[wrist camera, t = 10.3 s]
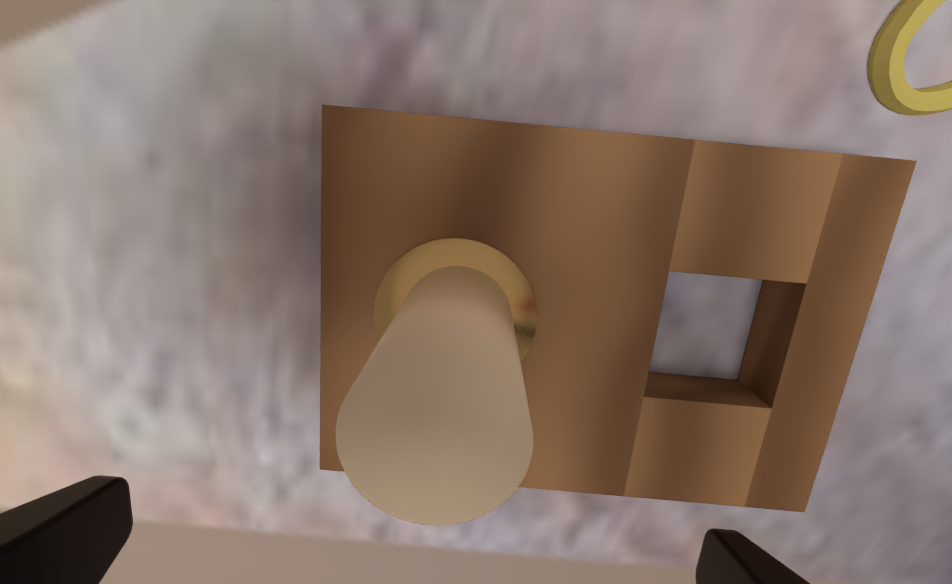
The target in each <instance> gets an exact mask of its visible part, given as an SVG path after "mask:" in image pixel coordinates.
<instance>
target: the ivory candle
mask: <svg viewBox="0 0 952 584" xmlns="http://www.w3.org/2000/svg"><path fill="white" fill-rule="evenodd" d="M336 446H337V452H338V456H339V459H340V462H341V465H342V467H343V469H344V471H345V473H346V475H347V477H348V478H349V480H350V481H351V483H352V484H353V485H354V487H355V488H356V489H357V490H358V491H359V493H360V494H361V495H363V496H364V497H365V498H366V499H367V500H368V501H369V502H370V503H372V504H373V505H375V506H376V507H377V508H379V509H381V510H382V511H384V512H386V513H388V514H390V515H392V516H394V517H397V518H399V519H402V520H405V521H409V522H412V523H418V524H423V525H452V524H458V523H463V522H467V521H470V520H473V519H476V518H478V517H481V516H483V515H485V514H487V513H489V512H491V511H492V510H494V509H496V508H497V507H498V506H500V505H501V504H502V503H504V502H505V501H506V500H507V499H508V498H509V497H510V496H511V495H512V494H513V493H514V491H515V490H516V489H517V488H518V487H519V485H520V483H521V482H522V480H523V478H524V477H525V475H526V472H527V470H528V467H529V465H530V461H531V457H532V451H533V430H532V425H531V419H530V413H529V408H528V402H527V396H526V391H525V385H524V380H523V374H522V368H521V363H520V357H519V351H518V346H517V340H516V335H515V329H514V323H513V318H512V312H511V307H510V303H509V300H508V298H507V296H506V294H505V292H504V291H503V289H502V288H501V286H500V285H499V284H498V283H497V282H496V281H495V280H494V279H493V278H491V277H490V276H489V275H487V274H486V273H484V272H482V271H480V270H477V269H474V268H471V267H466V266H447V267H442V268H439V269H436V270H434V271H432V272H430V273H428V274H426V275H425V276H423V277H422V278H421V279H420V280H419V281H418V282H417V283H416V284H415V285H414V286H413V288H412V289H411V291H410V292H409V294H408V295H407V297H406V299H405V300H404V302H403V304H402V305H401V307H400V308H399V310H398V312H397V313H396V315H395V317H394V318H393V320H392V321H391V323H390V325H389V326H388V328H387V330H386V331H385V333H384V335H383V336H382V338H381V339H380V341H379V343H378V344H377V346H376V348H375V349H374V351H373V352H372V354H371V356H370V357H369V359H368V361H367V362H366V364H365V365H364V367H363V369H362V370H361V372H360V374H359V375H358V377H357V379H356V380H355V382H354V383H353V385H352V387H351V388H350V390H349V392H348V393H347V395H346V396H345V399H344V401H343V403H342V405H341V407H340V410H339V414H338V417H337V423H336Z"/></svg>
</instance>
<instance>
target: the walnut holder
mask: <svg viewBox="0 0 952 584" xmlns="http://www.w3.org/2000/svg"><path fill="white" fill-rule="evenodd" d="M915 164H916V161H912V160H902V159H891V158H881V157H870V156H860V155H849V154H839V153H828V152H817V151H807V150H796V149H786V148H775V147H765V146H754V145H743V144H733V143H722V142H712V141H701V140H691V139H680V138H670V137H659V136H648V135H638V134H627V133H617V132H606V131H596V130H585V129H575V128H564V127H553V126H543V125H532V124H522V123H511V122H501V121H490V120H479V119H469V118H458V117H448V116H437V115H427V114H416V113H406V112H395V111H384V110H374V109H363V108H353V107H342V106H332V105H322V206H321V370H320V469H322V470H333V471H344V469H343V467H342V465H341V462H340V459H339V456H338V452H337V446H336V423H337V417H338V414H339V410H340V407H341V405H342V403H343V401H344V399H345V396H346V395H347V393H348V392H349V390H350V388H351V387H352V385H353V383H354V382H355V380H356V379H357V377H358V375H359V374H360V372H361V370H362V369H363V367H364V365H365V364H366V362H367V361H368V359H369V357H370V356H371V354H372V352H373V351H374V349H375V348H376V346H377V344H378V343H379V341H378V339H377V335H376V331H375V326H374V304H375V298H376V295H377V291H378V288H379V286H380V284H381V282H382V280H383V278H384V276H385V275H386V273H387V272H388V270H389V269H390V268H391V267H392V266H393V264H394V263H395V262H396V261H397V260H398V259H399V258H401V257H402V256H403V255H404V254H405V253H407V252H408V251H410V250H411V249H413V248H415V247H417V246H419V245H421V244H423V243H426V242H429V241H432V240H436V239H442V238H454V237H456V238H467V239H472V240H477V241H480V242H483V243H486V244H488V245H490V246H492V247H494V248H496V249H498V250H499V251H501V252H502V253H504V254H505V255H506V256H508V257H509V258H510V259H511V260H512V261H513V262H514V263H515V264H516V265H517V266H518V267H519V269H520V270H521V271H522V273H523V274H524V276H525V277H526V279H527V281H528V283H529V285H530V287H531V289H532V292H533V296H534V299H535V304H536V310H537V324H536V332H535V336H534V340H533V342H532V345H531V347H530V350H529V352H528V353H527V355H526V357H525V359H524V360H523V361H522V363H521V368H522V374H523V380H524V385H525V391H526V396H527V402H528V408H529V413H530V419H531V425H532V430H533V451H532V457H531V461H530V465H529V467H528V470H527V472H526V475H525V477H524V478H523V480H522V482H521V483H520V485H519V487H526V488H537V489H548V490H560V491H571V492H582V493H594V494H605V495H616V496H628V497H639V498H650V499H662V500H673V501H684V502H696V503H707V504H718V505H730V506H741V507H752V508H764V509H775V510H786V511H798V512H805V509H806V506H807V502H808V499H809V496H810V493H811V490H812V487H813V484H814V481H815V477H816V474H817V471H818V468H819V465H820V462H821V459H822V455H823V452H824V449H825V446H826V443H827V440H828V437H829V434H830V430H831V427H832V424H833V421H834V418H835V415H836V412H837V409H838V405H839V402H840V399H841V396H842V393H843V390H844V387H845V384H846V380H847V377H848V374H849V371H850V368H851V365H852V362H853V358H854V355H855V352H856V349H857V346H858V343H859V340H860V337H861V333H862V330H863V327H864V324H865V321H866V318H867V315H868V312H869V308H870V305H871V302H872V299H873V296H874V293H875V290H876V287H877V283H878V280H879V277H880V274H881V271H882V268H883V265H884V261H885V258H886V255H887V252H888V249H889V246H890V243H891V240H892V236H893V233H894V230H895V227H896V224H897V221H898V218H899V215H900V211H901V208H902V205H903V202H904V199H905V196H906V193H907V189H908V186H909V183H910V180H911V177H912V174H913V171H914V168H915ZM669 271H675V272H686V273H697V274H708V275H718V276H729V277H740V278H751V279H762V280H763V284H762V288H761V292H760V296H759V300H758V303H757V307H756V311H755V315H754V319H753V323H752V327H751V331H750V335H749V339H748V343H747V347H746V351H745V355H744V358H743V362H742V366H741V370H740V374H739V378H738V380H729V379H718V378H707V377H696V376H685V375H674V374H663V373H652V372H649V367H650V362H651V358H652V353H653V348H654V343H655V338H656V333H657V328H658V323H659V318H660V313H661V308H662V303H663V298H664V293H665V288H666V283H667V278H668V273H669ZM344 472H345V471H344Z"/></svg>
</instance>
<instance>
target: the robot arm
mask: <svg viewBox="0 0 952 584" xmlns="http://www.w3.org/2000/svg"><path fill="white" fill-rule="evenodd" d="M132 525H133V517H132V508H131V500H130V491H129V485H128V482H127V481H126V480H125V479H124V478H122V477H114V476H102V475H101V476H93V477H90V478H88V479H85V480H83V481H80V482H78V483H75V484H73V485H70V486H68V487H65V488H63V489H60V490H58V491H55V492H53V493H50V494H48V495H45V496H43V497H40V498H38V499H35V500H33V501H30V502H28V503H25V504H23V505H20V506H18V507H15V508H13V509H10V510H8V511H5V512H3V513H0V584H99V583H100V581H101V580H102V578H103V577H104V575H105V573H106V572H107V570H108V569H109V567H110V566H111V564H112V563H113V561H114V560H115V558H116V556H117V555H118V554H119V552H120V550H121V549H122V547H123V546H124V544H125V543H126V541H127V539H128V537H129V535H130V533H131V530H132ZM696 584H810V583H809V582H807V581H806V580H805V579H803V578H802V577H800V576H799V575H798V574H796V573H795V572H793V571H792V570H791V569H789V568H788V567H786V566H785V565H784V564H782V563H781V562H779V561H778V560H777V559H775V558H774V557H773V556H771V555H770V554H768V553H767V552H766V551H764V550H763V549H761V548H760V547H759V546H757V545H756V544H754V543H753V542H752V541H750V540H749V539H748V538H746V537H745V536H743V535H742V534H741V533H739V532H737V531H734V530H726V529H710V530H708V531H707V533H706V534H705V537H704V541H703V545H702V548H701V552H700V556H699V560H698V564H697V568H696Z"/></svg>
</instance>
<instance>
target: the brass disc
mask: <svg viewBox="0 0 952 584" xmlns="http://www.w3.org/2000/svg"><path fill="white" fill-rule="evenodd" d="M447 266H466V267H471V268H474V269H477V270H480V271H482V272H484V273H486V274H487V275H489V276H490V277H491V278H493V279H494V280H495V281H496V282H497V283H498V284H499V285H500V286H501V288H502V289H503V291H504V292H505V294H506V296H507V298H508V300H509V303H510V307H511V312H512V318H513V323H514V329H515V335H516V340H517V346H518V351H519V357H520V363H522V361H523V360H524V359H525V357H526V355H527V353H528V352H529V350H530V347H531V345H532V342H533V340H534V336H535V332H536V324H537V310H536V304H535V299H534V296H533V292H532V289H531V287H530V285H529V283H528V281H527V279H526V277H525V276H524V274H523V273H522V271H521V270H520V269H519V267H518V266H517V265H516V264H515V263H514V262H513V261H512V260H511V259H510V258H509V257H508V256H506V255H505V254H504V253H502V252H501V251H499V250H498V249H496V248H494V247H492V246H490V245H488V244H486V243H483V242H480V241H477V240H472V239H467V238H456V237H454V238H442V239H436V240H432V241H429V242H426V243H423V244H421V245H419V246H417V247H415V248H413V249H411V250H410V251H408V252H407V253H405V254H404V255H403V256H402V257H401V258H399V259H398V260H397V261H396V262H395V263H394V264H393V266H392V267H391V268H390V269H389V270H388V272H387V273H386V275H385V276H384V278H383V280H382V282H381V284H380V286H379V288H378V291H377V295H376V298H375V304H374V326H375V331H376V335H377V339H378V341H380V339H381V338H382V336H383V335H384V333H385V331H386V330H387V328H388V326H389V325H390V323H391V321H392V320H393V318H394V317H395V315H396V313H397V312H398V310H399V308H400V307H401V305H402V304H403V302H404V300H405V299H406V297H407V295H408V294H409V292H410V291H411V289H412V288H413V286H414V285H415V284H416V283H417V282H418V281H419V280H420V279H421V278H422V277H423V276H425V275H426V274H428V273H430V272H432V271H434V270H436V269H439V268H442V267H447Z"/></svg>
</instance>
